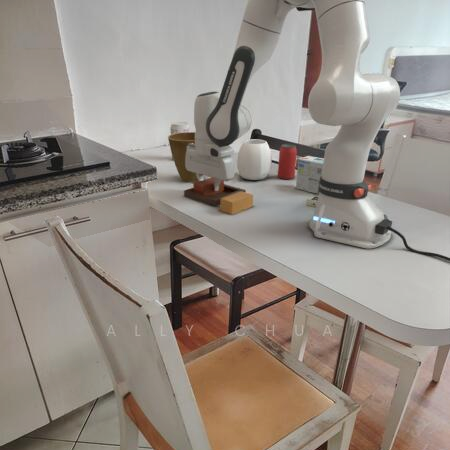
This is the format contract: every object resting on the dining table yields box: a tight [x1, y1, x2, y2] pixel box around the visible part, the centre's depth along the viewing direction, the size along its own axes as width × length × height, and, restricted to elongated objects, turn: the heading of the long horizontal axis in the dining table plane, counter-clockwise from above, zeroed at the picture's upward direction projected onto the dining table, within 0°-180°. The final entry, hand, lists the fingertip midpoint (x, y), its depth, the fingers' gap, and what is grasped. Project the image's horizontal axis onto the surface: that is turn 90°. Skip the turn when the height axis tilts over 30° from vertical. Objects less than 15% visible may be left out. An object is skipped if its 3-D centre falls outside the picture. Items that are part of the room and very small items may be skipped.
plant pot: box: [167, 131, 199, 183], centre depth 154 cm, size 15×15×16 cm
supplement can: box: [169, 121, 191, 159], centre depth 181 cm, size 8×8×15 cm
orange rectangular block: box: [220, 191, 254, 215], centre depth 130 cm, size 5×10×4 cm, turn 137°
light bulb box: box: [295, 155, 324, 195], centre depth 145 cm, size 11×7×11 cm, turn 47°
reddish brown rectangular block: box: [192, 177, 225, 196], centre depth 142 cm, size 5×10×4 cm, turn 137°
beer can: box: [277, 143, 298, 180], centre depth 158 cm, size 7×7×12 cm
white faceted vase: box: [236, 138, 273, 181], centre depth 157 cm, size 13×13×14 cm
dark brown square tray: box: [183, 183, 247, 208], centre depth 141 cm, size 15×15×2 cm
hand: (208, 188), depth 142 cm, fingers closed on reddish brown rectangular block, 5 cm apart
